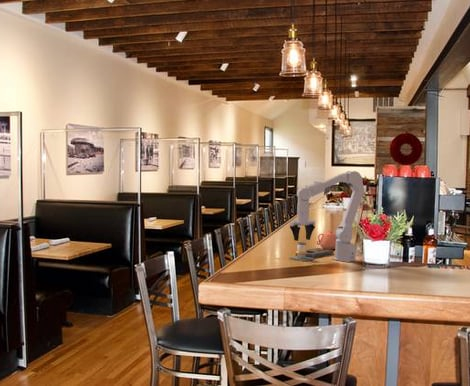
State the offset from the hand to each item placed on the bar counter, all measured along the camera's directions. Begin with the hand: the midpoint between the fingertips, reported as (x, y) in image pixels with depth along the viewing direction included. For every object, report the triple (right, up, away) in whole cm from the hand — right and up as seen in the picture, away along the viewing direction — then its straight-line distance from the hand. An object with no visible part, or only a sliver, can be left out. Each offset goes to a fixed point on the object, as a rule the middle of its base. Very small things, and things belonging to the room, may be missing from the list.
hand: (302, 240), depth 242 cm
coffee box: (+39, -10, +25) cm, 48 cm away
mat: (0, -9, 0) cm, 9 cm away
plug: (0, -9, 0) cm, 9 cm away
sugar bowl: (+20, -9, +36) cm, 42 cm away
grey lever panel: (+9, -9, +14) cm, 19 cm away
